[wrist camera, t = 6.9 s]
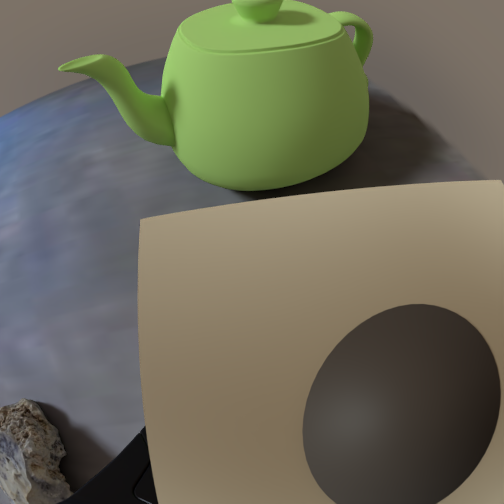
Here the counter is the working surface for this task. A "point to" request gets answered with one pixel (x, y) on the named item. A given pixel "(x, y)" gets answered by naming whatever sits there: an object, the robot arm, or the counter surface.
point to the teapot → (252, 93)
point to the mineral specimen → (30, 456)
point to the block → (327, 348)
